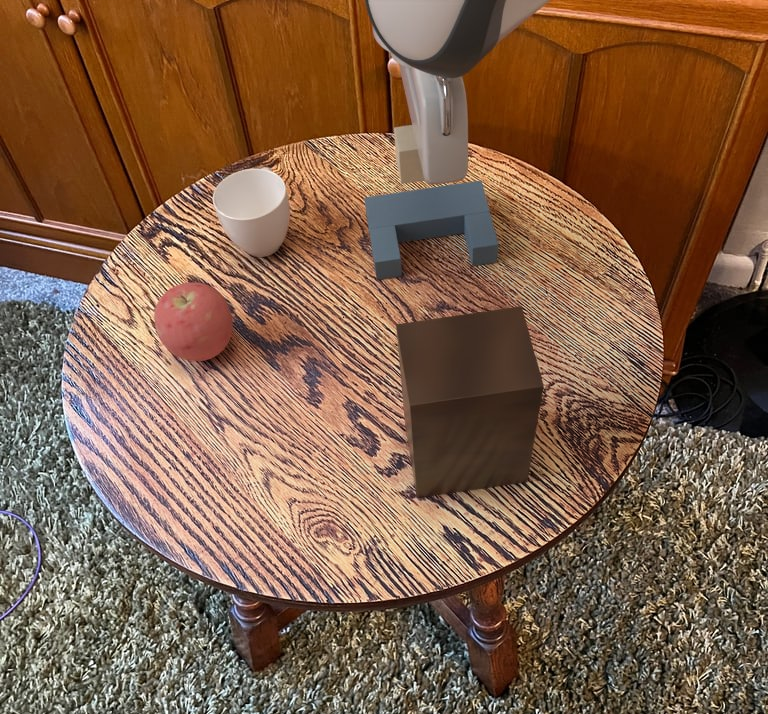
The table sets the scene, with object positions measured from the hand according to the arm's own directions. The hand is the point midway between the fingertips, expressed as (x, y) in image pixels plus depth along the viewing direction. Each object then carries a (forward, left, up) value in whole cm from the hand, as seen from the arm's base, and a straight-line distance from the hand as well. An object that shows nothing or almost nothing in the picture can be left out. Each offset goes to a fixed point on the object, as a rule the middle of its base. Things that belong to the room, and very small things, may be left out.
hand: (430, 159), depth 73 cm
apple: (+25, +9, -12) cm, 29 cm away
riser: (+1, +26, -12) cm, 28 cm away
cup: (+18, -6, -12) cm, 23 cm away
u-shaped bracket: (0, -2, -12) cm, 12 cm away
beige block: (0, 0, -1) cm, 1 cm away
